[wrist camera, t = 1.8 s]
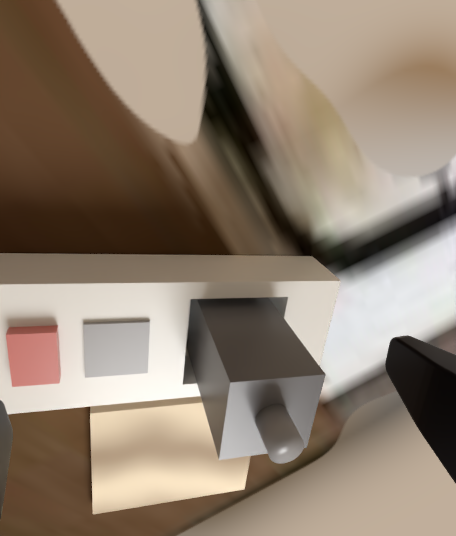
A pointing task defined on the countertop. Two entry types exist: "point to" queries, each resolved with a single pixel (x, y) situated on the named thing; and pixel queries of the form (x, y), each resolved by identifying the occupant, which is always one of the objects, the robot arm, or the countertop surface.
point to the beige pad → (157, 455)
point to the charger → (252, 378)
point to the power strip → (133, 321)
